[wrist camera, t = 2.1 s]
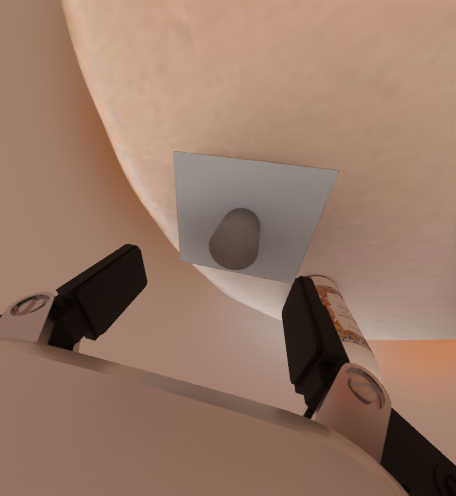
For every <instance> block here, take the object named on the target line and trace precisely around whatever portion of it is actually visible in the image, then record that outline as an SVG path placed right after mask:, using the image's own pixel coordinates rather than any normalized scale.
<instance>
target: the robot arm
mask: <svg viewBox="0 0 456 496" xmlns="http://www.w3.org/2000/svg"><path fill="white" fill-rule="evenodd" d="M146 285H147V278H146V273H145V268H144V264H143V259H142V254H141V250H140V249H139V247H138V246H136V245H131V244H126V245H124V246H122V247H121V248H119V249H118V250H116V251H115V252H113V253H112V254H110V255H108V256H107V257H105V258H104V259H103V260H101V261H99V262H98V263H96V264H95V265H93V266H92V267H90V268H88V269H87V270H85V271H84V272H82V273H81V274H79V275H78V276H76V277H75V278H73V279H72V280H70V281H69V282H67V283H65V284H64V285H62V286H61V287H59V288H58V289H56V291H57V292H58V295H57V296H56V297H55V296H54V295H53V293H50V292H40V293H35V294H32V295H28V296H26V297H24V298H21V299H20V300H18V301H16V302H14V303H13V304H12V305H10V306H9V307H8V308H7V309H6V311H5V312H4V314H2V315H0V496H456V465H454V464H453V463H452V462H451V461H450V460H449V459H448V458H447V457H445V456H444V455H443V454H442V453H441V452H440V451H439V450H438V449H437V448H436V447H434V446H433V445H432V444H431V443H430V442H429V441H428V440H427V439H426V438H425V437H423V436H422V435H421V434H420V433H419V432H418V431H417V430H416V429H415V428H414V427H412V426H411V425H410V424H409V423H408V422H407V421H406V420H405V419H403V417H401V416H400V415H399V414H398V413H397V412H396V411H395V410H394V409H393V408H391V401H390V398H389V395H388V393H387V391H386V390H385V388H384V386H383V385H382V384H381V382H380V381H379V380H378V379H377V378H376V377H375V376H374V375H373V374H372V373H371V372H370V371H368V370H367V369H365V368H364V367H362V366H360V365H358V364H355V363H350V360H349V358H348V356H347V353H346V351H345V349H344V346H343V344H342V342H341V339H340V337H339V335H338V333H337V330H336V328H335V326H334V323H333V321H332V319H331V316H330V314H329V312H328V309H327V308H326V306H324V305H323V304H322V301H321V299H320V297H319V294H318V292H317V289H316V287H315V285H314V282H313V280H312V278H309V277H303V276H300V277H299V278H295V280H294V283H293V285H292V288H291V290H290V293H289V295H288V297H287V300H286V302H285V305H284V307H283V310H282V320H283V328H284V336H285V342H286V351H287V358H288V367H289V374H290V381H291V383H292V384H294V385H295V392H296V393H299V394H302V395H304V399H305V403H306V405H307V406H306V408H305V410H304V412H303V414H302V415H301V416H300V415H297V414H295V413H292V412H289V411H286V410H283V409H279V408H276V407H273V406H269V405H266V404H263V403H259V402H256V401H252V400H249V399H246V398H242V397H239V396H235V395H232V394H228V393H224V392H220V391H217V390H213V389H210V388H206V387H202V386H199V385H195V384H192V383H188V382H185V381H181V380H177V379H174V378H170V377H166V376H162V375H159V374H155V373H152V372H148V371H144V370H141V369H137V368H133V367H130V366H126V365H122V364H119V363H115V362H111V361H107V360H103V359H100V358H96V357H92V356H88V355H84V354H81V353H78V351H79V346H80V340H81V339H82V338H83V336H85V338H87V339H91V340H94V341H95V340H96V339H97V338H98V337H99V336H100V335H102V334H104V333H105V332H106V330H108V328H109V327H110V326H111V325H112V324H113V323H114V322H115V320H116V319H117V318H118V317H119V316H120V315H121V314H122V313H123V312H124V310H125V309H126V308H127V307H128V306H129V305H130V304H131V302H132V301H133V300H134V299H135V298H136V297H137V296H138V294H139V293H140V292H141V291H142V290H143V289H144V288H145V287H146Z"/></svg>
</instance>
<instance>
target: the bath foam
mask: <svg viewBox="0 0 456 496" xmlns="http://www.w3.org/2000/svg"><path fill="white" fill-rule="evenodd" d="M309 278H312V280H313V282H314V285H315V287H316V289H317V292H318V294H319V297H320V299H321V301H322V304H323V305H324V306H326V308H327V309H328V312H329V314H330V316H331V319H332V321H333V323H334V326H335V328H336V330H337V333H338V335H339V337H340V339H341V342H342V344H343V346H344V349H345V351H346V353H347V356H348V358H349V360H350V363H355V364H358V365H360V366H362V367H364V368H365V369H367V370H368V371H370V372H371V373H372V374H373V375H374V376H375V377H376V378H377V379H378V380H379V381H380V382H381V384H382V379H381V374H380V370H379V367H378V364H377V362H376V359H375V357H374V355H373V353H372V351H371V349H370V347H369V345H368V343H367V342H366V340H365V338H364V336H363V334H362V332H361V331H360V329H359V327H358V325H357V323H356V321H355V320H354V318H353V316H352V314H351V312H350V310H349V309H348V307H347V305H346V303H345V301H344V299H343V298H342V296H341V294H340V292H339V290H338V289H337V287H336V285H335V284H334V283H333V282H332V281H331V280H329V279H327V278H325V277H320V276H312V277H309Z"/></svg>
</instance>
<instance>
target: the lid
mask: <svg viewBox="0 0 456 496" xmlns="http://www.w3.org/2000/svg"><path fill="white" fill-rule="evenodd" d="M173 156H174V171H175V186H176V201H177V216H178V232H179V247H180V261H183V262H188V263H193V264H198V265H202V266H207V267H212V268H217V269H222V270H227V271H231V272H236V273H241V274H246V275H251V276H256V277H261V278H265V279H270V280H275V281H280V282H285V283H290V284H293V283H294V280H295V278H296V275H297V273H298V270H299V268H300V266H301V263H302V261H303V258H304V256H305V253H306V251H307V248H308V246H309V243H310V241H311V239H312V236H313V234H314V231H315V229H316V226H317V224H318V221H319V219H320V217H321V214H322V212H323V209H324V207H325V204H326V202H327V199H328V197H329V194H330V192H331V190H332V187H333V185H334V182H335V180H336V177H337V175H338V172H339V171H338V170H331V169H323V168H314V167H306V166H297V165H289V164H280V163H272V162H263V161H255V160H246V159H238V158H229V157H221V156H212V155H204V154H195V153H186V152H178V151H173Z"/></svg>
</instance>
